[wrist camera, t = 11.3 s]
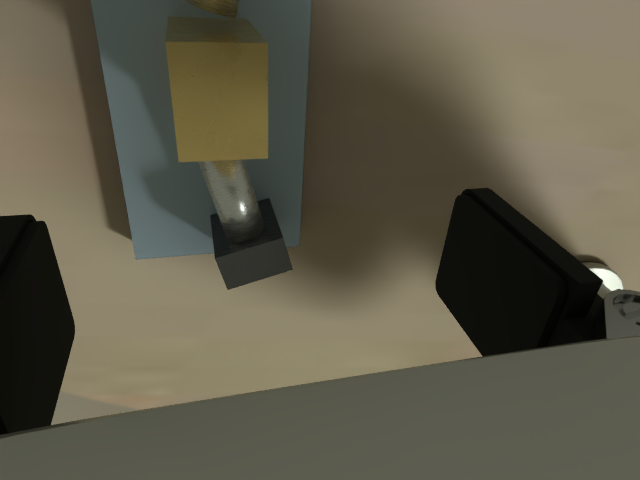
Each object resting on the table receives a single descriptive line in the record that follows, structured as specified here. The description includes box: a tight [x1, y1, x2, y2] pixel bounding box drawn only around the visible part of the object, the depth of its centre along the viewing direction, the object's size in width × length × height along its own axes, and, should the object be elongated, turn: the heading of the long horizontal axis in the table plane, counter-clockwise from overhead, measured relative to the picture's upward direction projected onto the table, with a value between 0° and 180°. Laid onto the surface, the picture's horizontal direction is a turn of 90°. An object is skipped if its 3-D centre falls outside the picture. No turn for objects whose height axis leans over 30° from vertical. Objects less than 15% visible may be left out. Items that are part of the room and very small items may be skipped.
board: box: [91, 0, 312, 260], centre depth 26 cm, size 24×11×2 cm, turn 176°
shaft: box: [198, 159, 293, 290], centre depth 28 cm, size 8×4×5 cm, turn 11°
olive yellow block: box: [165, 17, 268, 162], centre depth 23 cm, size 5×4×7 cm
